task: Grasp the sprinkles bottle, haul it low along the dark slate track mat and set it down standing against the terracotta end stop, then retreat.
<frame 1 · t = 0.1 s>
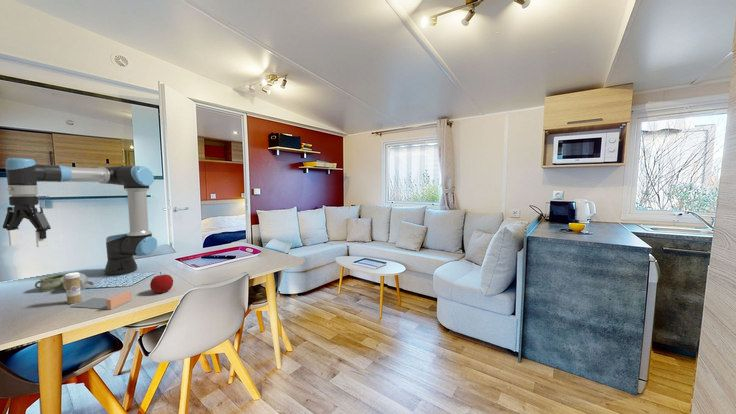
hand: (28, 245, 113), 28 cm above the table, fingers open, 13 cm apart
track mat: (101, 303, 122), on the table
sprinkles bottle: (74, 302, 123), on the table
apple: (162, 292, 136), on the table
ceramic mug: (79, 289, 139), on the table
vessel: (53, 289, 138), on the table
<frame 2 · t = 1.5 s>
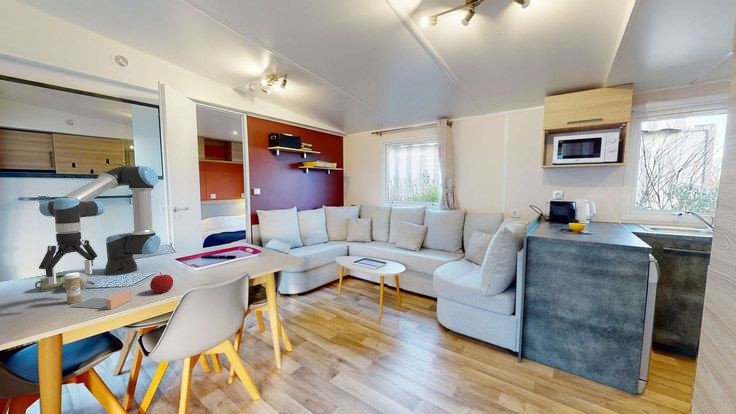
hand: (71, 278, 122), 11 cm above the table, fingers open, 13 cm apart
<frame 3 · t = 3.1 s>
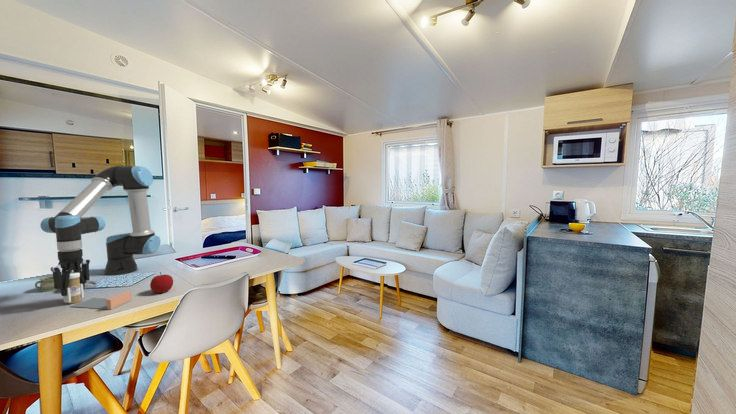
hand: (74, 299, 123), 1 cm above the table, fingers closed on sprinkles bottle, 4 cm apart
sprinkles bottle: (74, 302, 123), on the table, touching gripper
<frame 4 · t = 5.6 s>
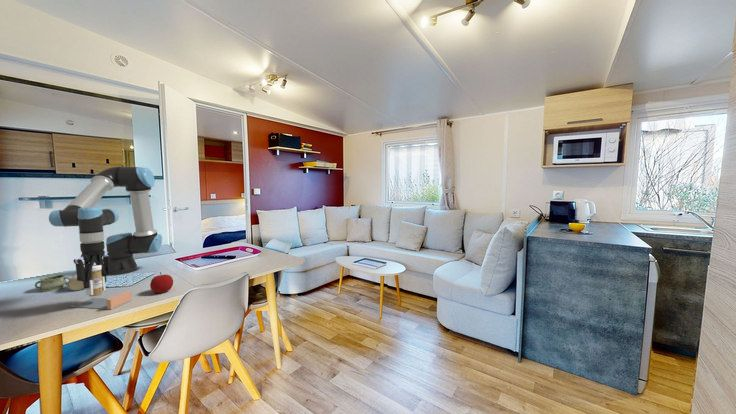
hand: (96, 292, 121), 5 cm above the table, fingers closed on sprinkles bottle, 4 cm apart
sprinkles bottle: (96, 295, 121), point 4 cm above the table, touching gripper
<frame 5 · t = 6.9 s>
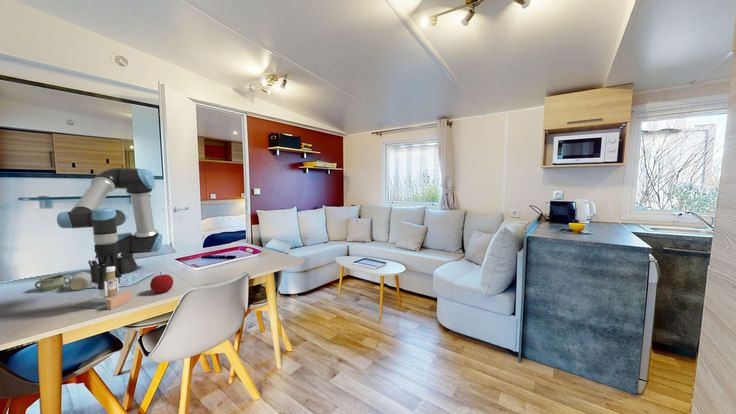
hand: (109, 293, 121), 5 cm above the table, fingers closed on sprinkles bottle, 4 cm apart
sprinkles bottle: (110, 296, 121), point 4 cm above the table, touching gripper
when the fingers open (2 cm above the table, at t = 8.1 s): sprinkles bottle stays where it is, resting on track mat.
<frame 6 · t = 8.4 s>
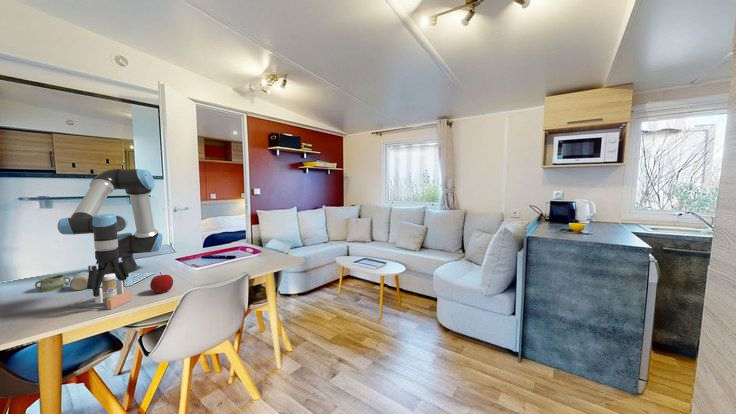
hand: (110, 298, 121), 3 cm above the table, fingers open, 8 cm apart
sprinkles bottle: (110, 303, 121), resting on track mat
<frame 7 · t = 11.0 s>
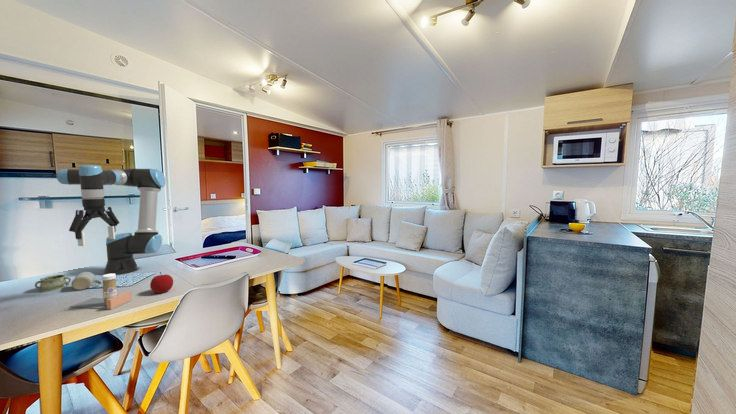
hand: (97, 242, 129), 26 cm above the table, fingers open, 13 cm apart
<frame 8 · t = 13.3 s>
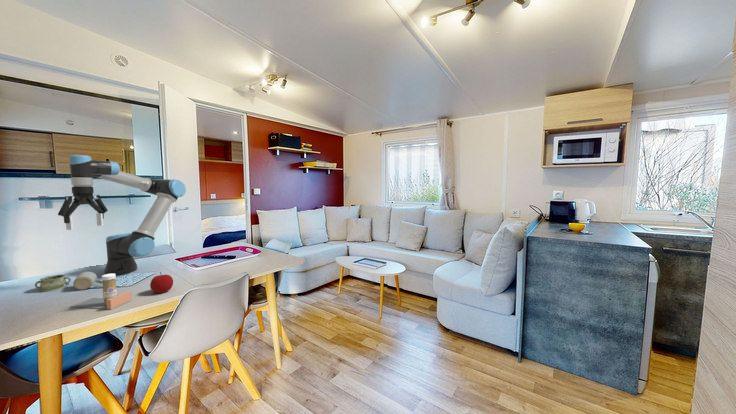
hand: (85, 227, 137), 32 cm above the table, fingers open, 13 cm apart
at the end: sprinkles bottle inside the target area (0.3 cm from its centre), resting on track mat; sprinkles bottle tilted 0°; the gripper is holding nothing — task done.
